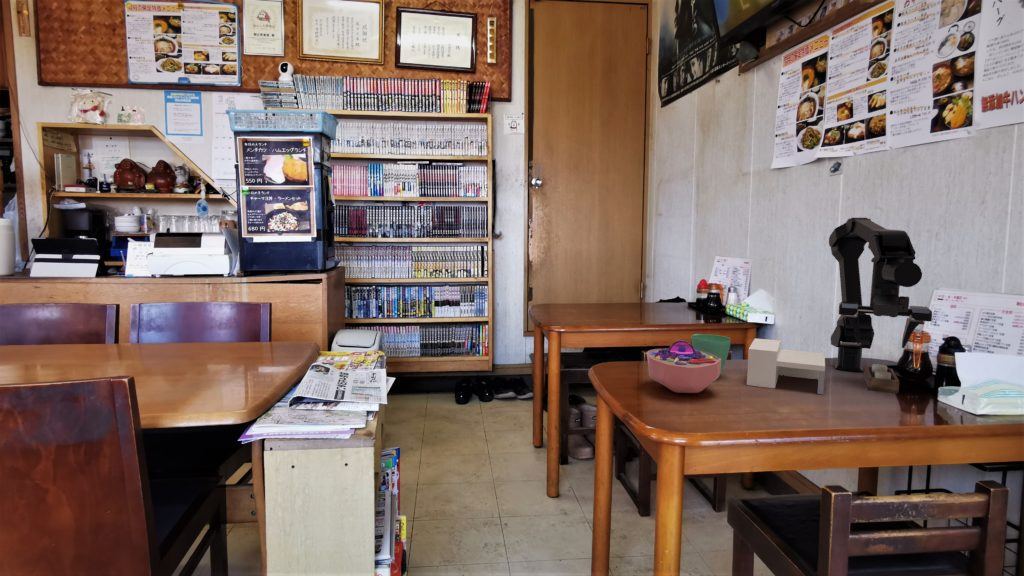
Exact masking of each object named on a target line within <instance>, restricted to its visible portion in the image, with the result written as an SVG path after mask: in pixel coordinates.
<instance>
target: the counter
mask: <svg viewBox="0 0 1024 576" xmlns="http://www.w3.org/2000/svg"><path fill="white" fill-rule="evenodd" d="M781 343H782V341H781V340H776V339H766V338H765V339H764V338H757V337H756V338H754V339H753V340H752V342H751V344H750V346H749V347H748V354H747V355H748V356H747V375H746V386H753V387H754V386H755V387H760V388H770V389H776V385H777V382H778V379H779V376H783V375H784V377H793V378H802V379H808V380H809V379H810V380H818V381H817V394H818V395H824V392H825V391H824V390H825V376H826V374H825V373H826V357H825V353H824V352H823V353H822V352H813V351H803V350H802V351H801V350H791V349H781V345H782V344H781Z"/></svg>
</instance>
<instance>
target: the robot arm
mask: <svg viewBox="0 0 1024 576" xmlns="http://www.w3.org/2000/svg"><path fill="white" fill-rule="evenodd" d="M867 243H868V246H867V248H868V249H869V251H870V252H871V253H872V256H873V257H872V259H871V260H870V261H871V263H873V264H872V275H871V288H870V299H869V300H870V301H869V305H863V299H862V296H863V295H862V287H861V286H862V285H861V273H860V265H859V259H860V257H861V256H862V255H863V253H864V251H865V245H866V244H867ZM828 244H829V247H830V251H831V255H832V257H834V259H835V260H836V261H837V262H838V267H839V281H840V294H841V295H840V297H841V302H839V304H838V315H839V318H838V319H837V321H836V326H835V328H834V330H833V332H832V333H831V335H830V345H831V346H833V347H836V348H838V349H837V360H836V361H837V362H834V363H835V364H834V366H835V369H836V370H843V371H851V372H852V371H853V372H861V373H862V372H863V373H864V368H863V365H862V356H863V349H869V350H871V347H872V345H873V341H874V337H875V330H874V328H873V324H872V319H873V318H872V316H871V314H872V315H874V316H876V317H890V318H898V317H906V321H905V325H904V329H903V336H902V339H901V348H902V349H905V347H906V345H907V343H908V341H909V340H910V337H911V335H912V334H913V332H914V331H915V329H916V328H917V327H918V326H919V325H924V324H925V322H932V319H933V311H932V310H931V309H930V308H929V307H927V306H921V305H920V306H919V305H910V297H909V296H904V295H903V296H902V295H900V287H903V288H910V287H915V286H916V285H917V284H918V283H920V282H921V280H922V278H923V271H922V269H921V267H920V266H919V265H918V263H915V262H914V261H915V260H916V250H915V248H914V246H913V244H912V241H911V238H910V236H909V234H908V233H907V232H906V231H905V230H900V229H889V228H888V229H887V228H885V227H883V226H881V225H880V224H877V223H876V222H874V221H872V220H871V218H868V217H851V218H848V219H847V220H846V222H845V223H843V224H841V225H839V226H837V227H835V228H834V229H833V231H832V233H831V234H830V235H829V237H828Z"/></svg>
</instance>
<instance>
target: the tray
mask: <svg viewBox="0 0 1024 576" xmlns="http://www.w3.org/2000/svg"><path fill="white" fill-rule="evenodd" d="M863 379H864V381H865V385H866V388H867V390H868V391H873V392H882V393H890V394H899V389H900V380H899V378H898V376H897V374H896V373H895V371H894V369H893V368H890V367H888V366H887V365H884V364H878V363H877V364H876V363H875V364H874V363H873V364H871V366H870V365H869V366H867V365H864V368H863Z"/></svg>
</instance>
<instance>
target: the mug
mask: <svg viewBox="0 0 1024 576" xmlns="http://www.w3.org/2000/svg"><path fill="white" fill-rule="evenodd" d="M690 338H691V339H690V344H691V345H692V346H693V348H694V349H695V350H699V351H704V352H708V353H711V354H713V355H715V356H717V357H719V358H721V369H720V375H719V377H720V376H721V373H722V371H723V369H724V367H725V365H726V362H727V359H728V355H729V352H730V348H731V343H732V339H731V338H730V337H728V336H724V335H718V334H704V333H703V334H700V333H694V334H692V335H691V337H690Z"/></svg>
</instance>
